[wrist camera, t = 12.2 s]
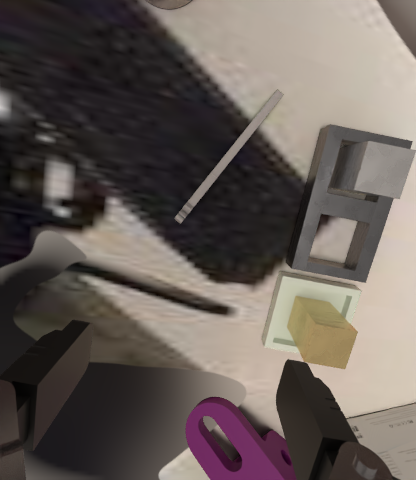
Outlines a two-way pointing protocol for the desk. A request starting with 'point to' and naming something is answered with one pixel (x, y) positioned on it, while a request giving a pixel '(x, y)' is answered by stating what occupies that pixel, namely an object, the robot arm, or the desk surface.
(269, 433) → the mounting bracket
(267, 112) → the caliper
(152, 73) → the desk surface
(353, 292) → the parts tray
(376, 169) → the grey upright block
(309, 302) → the golden yellow block
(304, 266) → the grey metal frame
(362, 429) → the hard drive box
